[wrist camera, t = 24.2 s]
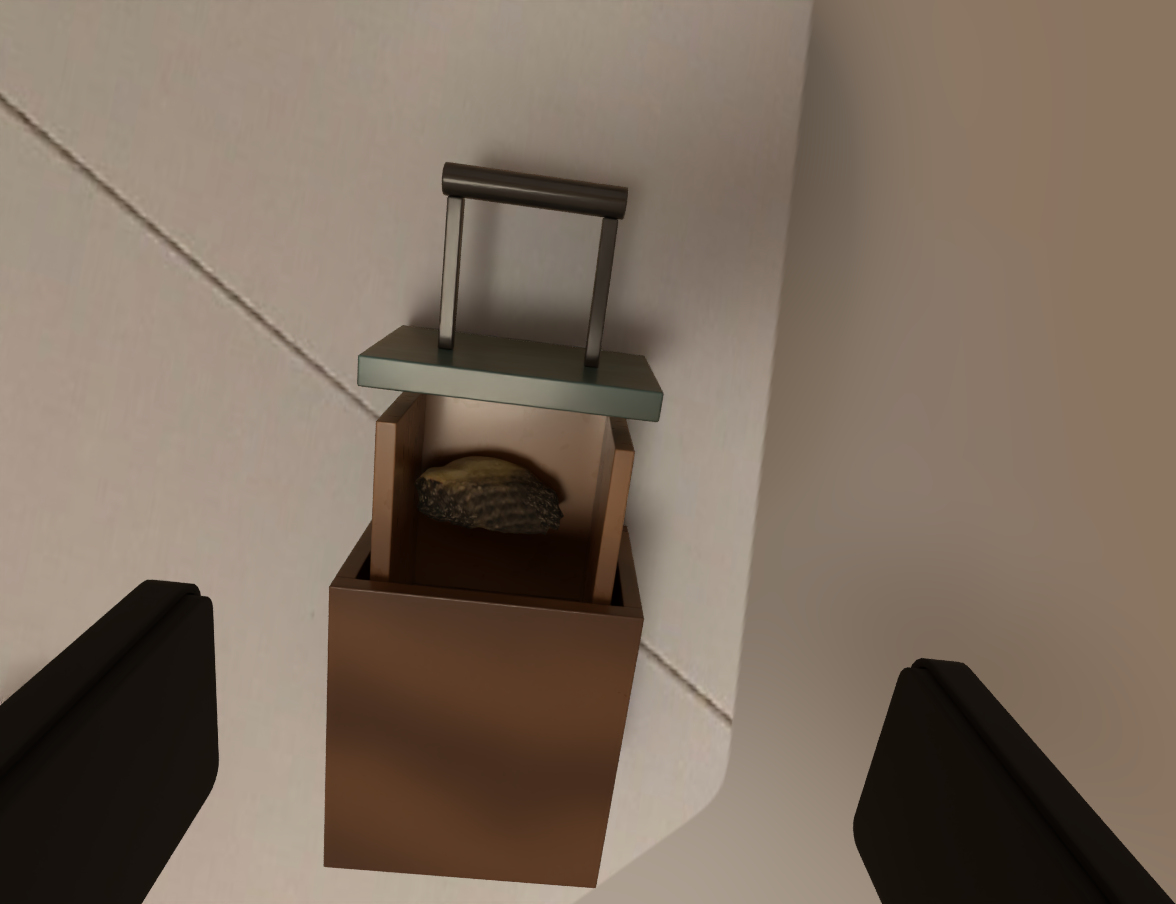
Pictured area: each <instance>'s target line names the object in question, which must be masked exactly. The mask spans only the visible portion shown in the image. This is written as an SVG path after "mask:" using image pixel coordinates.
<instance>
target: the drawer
mask: <svg viewBox="0 0 1176 904" xmlns="http://www.w3.org/2000/svg"><path fill="white" fill-rule="evenodd" d="M442 191H443V194H444V195H446V196H448V198H447V213H446V228H445V243H444V259H443V274H442V289H441V304H440V319H439V330H438V329H430V328H422V327H414V326H406V325H402V326H401V327H399V328H398V329H396V330H395V331H393V332H392V333H390V334H389V335H387V336H386V337H384V338H383V339H382V340H380V341H379V342H377V343H376V344H374V345H373V346H371V347H370V348H368V349H367V350H365V351H364V352H363V353H361V354H360V355H359V356H358V375H357V384H358V386H362V387H370V388H378V389H386V390H395V391H403V393H402V394H401V395H400V396H399V397H398V398H397V399H396V400H395V401H394V402H393V403H392V404H391V406H390V407H389V408H388V409H387V410H386V411H385V412H384V413H383V414H382V415H381V416H380V417H379V419H378V420H377V421H376V434H375V459H374V484H373V509H372V534H371V559H370V581H379V582H389V583H398V584H408V585H417V586H427V587H437V588H446V589H456V590H465V591H475V592H485V593H494V594H504V595H514V596H523V597H533V598H542V599H552V600H562V601H571V602H581V603H591V604H600V605H610V604H611V598H612V592H613V585H614V579H615V573H616V567H617V561H618V554H619V548H620V542H621V536H622V530H623V523H624V517H625V511H626V505H627V498H628V492H629V486H630V480H631V474H632V467H633V461H634V455H635V451H634V447H633V444H632V440H631V436H630V432H629V429H628V425H627V421H626V419H635V420H643V421H651V422H658V421H659V418H660V412H661V406H662V401H663V395H664V394H663V391H662V389H661V387H660V385H659V384H658V382H657V380H656V378H655V376H654V374H653V372H652V370H651V368H650V366H649V364H648V362H647V360H646V358H645V356H643V355H635V354H627V353H619V352H611V351H603V350H601V344H602V336H603V329H604V322H605V315H606V308H607V300H608V293H609V286H610V279H611V271H612V264H613V257H614V250H615V242H616V235H617V228H618V220H617V219H619V220H623V219H624V216H625V211H626V205H627V197H628V188H626V187H620V186H613V185H606V184H599V183H592V182H585V181H578V180H571V179H564V178H557V177H550V176H543V175H536V174H529V173H521V172H514V171H507V170H500V169H493V168H486V167H479V166H472V165H465V164H458V163H451V162H446V163H445V164H444V167H443V173H442ZM464 198H468V199H475V200H483V201H490V202H497V203H504V204H511V205H519V206H526V207H533V208H540V209H547V210H555V211H562V212H569V213H576V214H583V215H591V216H598V217H605V218H603V220H602V227H601V235H600V243H599V250H598V258H597V265H596V273H595V281H594V288H593V296H592V303H591V311H590V319H589V326H588V334H587V341H586V348H580V347H572V346H564V345H556V344H548V343H540V342H532V341H524V340H517V339H509V338H501V337H493V336H485V335H477V334H469V333H461V332H455V329H456V315H457V301H458V288H459V274H460V260H461V247H462V233H463V219H464V206H465V199H464ZM470 456H482V457H492V458H497V459H501V460H505V461H508V462H510V463H513V464H516V465H520V466H522V467H525V468H527V469H529V470H530V471H531V472H532V473H533V474H534V475H535V476H536V477H537V478H538V479H539V480H540V481H541V482H542V483H543V484H544V485H546V486H547V487H549V488H551V489H553V490H554V491H555V492H556V494H557V497H558V500H559V508H560V510H561V511H562V513H563V515H564V517H563V518H561V519H560V527H559V529H558V530H553V529H551V528H549V529H548V531H547V533H546V535H545V534H541V533H537V534H524V533H518V534H514V533H509V532H507V533H502V532H500V531H490V530H487V529H485V528H482V527H476V528H471V529H468V528H465V527H462V526H458V525H453V524H451V523H450V521H447V522H440V521H437V520H434V519H431V518H428V517H429V516H428V515H424V514H423V513H422V512H420V511H418V510H419V509H418V508H416V506H417V505H418V501H419V500H418V492H417V489H416V487H415V484H414V482H415V481H416V480H417V479H418V478H419V477H420V476H421V475H422V474H423V473H424V472H425V471H426V470H427V469H429V468H432V467H444V466H446V465H447V464H449V463H450V462H452V461H454V460H457V459H461V458H464V457H470Z"/></svg>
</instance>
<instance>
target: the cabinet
mask: <svg viewBox="0 0 1176 904" xmlns="http://www.w3.org/2000/svg"><path fill="white" fill-rule="evenodd" d="M371 534H372V520H371V522H370V523H369V525H368V527H367V528H366V530H365V531H364V533H363V534H362V536H361V538H360V539H359V541H358V542H357V544H356V545H355V547H354V548H353V550H352V552H351V553H350V555H349V556H348V558H347V559H346V561H345V562H344V564H343V566H342V567H341V569H340V570H339V572H338V573H337V575H336V577H335V578H334V580H333V581H332V583H331V585H330V586H329V623H328V673H327V724H326V774H325V824H324V867H332V868H344V869H357V870H370V871H383V872H395V873H408V874H421V875H434V876H446V877H459V878H472V879H485V880H498V881H510V882H523V883H536V884H549V885H561V886H574V887H587V888H596V885H597V879H598V874H599V868H600V862H601V857H602V851H603V846H604V840H605V834H606V829H607V823H608V818H609V812H610V806H611V801H612V795H613V790H614V784H615V778H616V773H617V767H618V762H619V756H620V751H621V745H622V739H623V734H624V728H625V723H626V717H627V711H628V706H629V700H630V695H631V689H632V683H633V678H634V672H635V667H636V661H637V656H638V650H639V644H640V639H641V633H642V628H643V622H644V616H643V611H642V605H641V599H640V594H639V588H638V583H637V577H636V572H635V566H634V560H633V555H632V549H631V544H630V538H629V533H628V528H627V526H625V525H623V530H622V536H621V542H620V548H619V554H618V561H617V567H616V573H615V579H614V585H613V592H612V598H611V604H610V605H600V604H591V603H581V602H571V601H562V600H552V599H542V598H533V597H523V596H514V595H504V594H494V593H485V592H475V591H465V590H456V589H446V588H437V587H427V586H417V585H408V584H398V583H389V582H379V581H370V559H371Z"/></svg>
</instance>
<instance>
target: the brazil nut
mask: <svg viewBox="0 0 1176 904" xmlns="http://www.w3.org/2000/svg"><path fill="white" fill-rule="evenodd" d="M414 484H415V487H416V489H417V492H418V500H419V501H418V505H417V506H416V508H418V509H419V510H418V511H420V512H422V513H423V514H424V515H428V516H429V517H428V518H431V519H434V520H437V521H440V522H447V521H450V523H451V524H453V525H458V526H462V527H465V528H468V529H471V528H476V527H482V528H485V529H487V530H490V531H500V532H502V533H507V532H509V533H514V534H518V533H524V534H537V533H541V534H545V535H546V533H547V531H548V529H549V528H551V529H553V530H558V529H559V527H560V519H561V518H563V517H564V515H563V513H562V511H561V510H560V508H559V500H558V497H557V494H556V492H555V491H554V490H553V489H551V488H549V487H547V486H546V485H544V484H543V483H542V482H541V481H540V480H539V479H538V478H537V477H536V476H535V475H534V474H533V473H532V472H531V471H530V470H529V469H527V468H525V467H522V466H520V465H516V464H513V463H510V462H508V461H505V460H501V459H497V458H492V457H482V456H470V457H464V458H461V459H457V460H454V461H452V462H450V463H449V464H447V465H446V466H444V467H432V468H429V469H427V470H426V471H425V472H424V473H423V474H422V475H421V476H420V477H419V478H418V479H417V480H416V481H415V482H414Z"/></svg>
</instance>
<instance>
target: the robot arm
mask: <svg viewBox="0 0 1176 904" xmlns="http://www.w3.org/2000/svg"><path fill="white" fill-rule="evenodd" d="M218 767H219V752H218V725H217V699H216V673H215V647H214V620H213V605H212V601H211V599H210V598H209V597H206V596H201V594H200V591H199V588H198V587H197V586H196V585H195V584H190V583H180V582H170V581H161V580H146V581H144V582H142V583H141V584H140V585H138V586H137V587H136V588H135V589H134V590H133V591H132V592H130V593H129V594H128V595H127V596H126V597H125V598H123V599H122V600H121V601H120V602H119V603H118V604H117V605H115V606H114V607H113V608H112V609H111V610H110V611H108V612H107V613H106V614H105V615H104V616H103V617H102V618H100V619H99V620H98V621H97V622H96V623H95V624H94V625H92V626H91V627H90V628H89V629H88V630H87V631H85V632H84V633H83V634H82V635H81V636H80V637H79V638H77V639H76V640H75V641H74V642H73V643H72V644H70V645H69V646H68V647H67V648H66V649H65V650H64V651H62V652H61V653H60V654H59V655H58V656H57V657H56V658H54V659H53V660H52V661H51V662H50V663H49V664H47V665H46V666H45V667H44V668H43V669H42V670H41V671H39V672H38V673H37V674H36V675H35V676H34V677H32V678H31V679H30V680H29V681H28V682H27V683H26V684H24V685H23V686H22V687H21V688H20V689H19V690H18V691H16V692H15V693H14V694H13V695H12V696H11V697H9V698H8V699H7V700H6V701H5V702H4V703H3V704H1V705H0V904H142V902H143V901H144V899H145V897H146V896H147V894H148V893H149V891H150V889H151V888H152V886H153V885H154V883H155V881H156V880H157V878H158V876H159V875H160V873H161V872H162V870H163V868H164V867H165V865H166V864H167V862H168V860H169V859H170V857H171V855H172V854H173V852H174V851H175V849H176V847H177V846H178V844H179V842H180V841H181V839H182V838H183V836H184V834H185V833H186V831H187V830H188V828H189V826H190V825H191V823H192V821H193V820H194V818H195V817H196V815H197V813H198V812H199V810H200V809H201V807H202V805H203V804H204V802H205V800H206V799H207V797H208V796H209V794H210V792H211V790H212V788H213V785H214V783H215V780H216V776H217V772H218ZM853 832H854V839H855V844H856V846H857V849H858V851H859V853H860V856H861V858H862V860H863V863H864V865H865V867H866V869H867V871H868V873H869V876H870V878H871V880H872V883H873V885H874V887H875V889H876V892H877V894H878V896H879V898H880V900H881V902H882V904H1175V903H1174V902H1173V901H1172V900H1171V898H1170V897H1169V896H1168V895H1167V894H1166V893H1165V892H1164V890H1163V889H1162V888H1161V887H1160V886H1159V885H1158V884H1157V882H1156V881H1155V880H1154V879H1153V878H1152V877H1151V876H1150V874H1149V873H1148V872H1147V871H1146V870H1145V869H1144V867H1143V866H1142V865H1141V864H1140V863H1139V862H1138V861H1137V860H1136V858H1135V857H1134V856H1133V855H1132V854H1131V853H1130V851H1129V850H1128V849H1127V848H1126V847H1125V846H1124V845H1123V844H1122V842H1121V841H1120V840H1119V839H1118V838H1117V837H1116V835H1115V834H1114V833H1113V832H1112V831H1111V830H1110V829H1109V827H1108V826H1107V825H1106V824H1105V823H1104V822H1103V821H1102V820H1101V818H1100V817H1099V816H1098V815H1097V814H1096V813H1095V811H1094V810H1093V809H1092V808H1091V807H1090V806H1089V804H1088V803H1087V802H1086V801H1085V800H1084V799H1083V798H1082V796H1081V795H1080V794H1079V793H1078V792H1077V791H1076V790H1075V788H1074V787H1073V786H1072V785H1071V784H1070V783H1069V782H1068V780H1067V779H1066V778H1065V777H1064V776H1063V775H1062V774H1061V772H1060V771H1059V770H1058V769H1057V768H1056V767H1055V765H1054V764H1053V763H1052V762H1051V761H1050V760H1049V759H1048V758H1047V756H1046V755H1045V754H1044V753H1043V752H1042V751H1041V749H1040V748H1039V747H1038V746H1037V745H1036V744H1035V743H1034V742H1033V740H1032V739H1031V738H1030V737H1029V736H1028V735H1027V733H1026V732H1025V731H1024V730H1023V729H1022V728H1021V727H1020V726H1019V724H1018V723H1017V722H1016V721H1015V720H1014V719H1013V717H1012V716H1011V715H1010V714H1009V713H1008V712H1007V711H1006V709H1005V708H1004V707H1003V706H1002V705H1001V704H1000V702H999V701H998V700H997V699H996V698H995V697H994V696H993V694H992V693H991V692H990V691H989V690H988V689H987V688H986V687H985V685H984V684H983V683H982V682H981V681H980V680H979V678H978V677H977V676H976V675H975V674H974V673H973V672H972V670H971V669H970V668H969V667H968V666H966V665H965V664H964V663H960V662H954V661H945V660H935V659H925V658H921V659H918V660H916V661H915V662H914V663H913V664H912V666H911V668H908V667H907V668H904V669H903V670H902V671H901V673H900V675H899V677H898V680H897V683H896V687H895V690H894V693H893V696H892V699H891V702H890V705H889V709H888V712H887V715H886V718H885V721H884V725H883V728H882V731H881V734H880V737H879V740H878V743H877V747H876V750H875V753H874V756H873V759H872V762H871V766H870V769H869V772H868V775H867V778H866V781H865V785H864V788H863V791H862V794H861V797H860V800H859V803H858V807H857V810H856V813H855V816H854V822H853Z"/></svg>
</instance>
